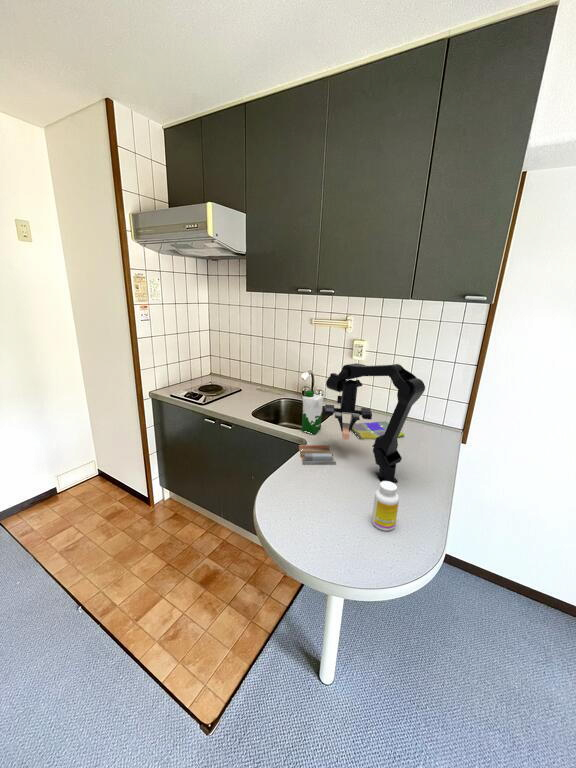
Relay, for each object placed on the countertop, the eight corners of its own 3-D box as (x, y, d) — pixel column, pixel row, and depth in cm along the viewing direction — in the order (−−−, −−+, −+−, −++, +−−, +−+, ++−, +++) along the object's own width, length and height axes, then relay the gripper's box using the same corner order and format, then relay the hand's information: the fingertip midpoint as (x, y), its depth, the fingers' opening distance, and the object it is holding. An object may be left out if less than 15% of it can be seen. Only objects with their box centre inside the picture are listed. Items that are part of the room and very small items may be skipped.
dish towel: (405, 439, 152) (406, 433, 151) (357, 441, 147) (358, 435, 146) (388, 425, 168) (388, 420, 167) (344, 426, 164) (345, 421, 163)
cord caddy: (335, 466, 123) (336, 462, 123) (302, 466, 122) (303, 462, 122) (328, 448, 137) (328, 445, 137) (298, 448, 136) (299, 444, 136)
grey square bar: (330, 459, 127) (331, 453, 127) (332, 462, 125) (332, 456, 124) (304, 458, 126) (304, 453, 126) (304, 462, 124) (305, 456, 123)
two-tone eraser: (348, 439, 123) (349, 433, 123) (342, 439, 124) (343, 433, 123) (347, 428, 134) (348, 423, 133) (341, 428, 134) (342, 422, 133)
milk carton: (306, 426, 161) (308, 388, 155) (323, 430, 156) (325, 392, 151) (298, 432, 153) (300, 392, 148) (315, 436, 149) (318, 396, 144)
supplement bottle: (398, 531, 89) (404, 492, 86) (376, 532, 89) (381, 492, 85) (389, 515, 96) (395, 478, 92) (368, 516, 95) (373, 479, 92)
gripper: (371, 391, 131) (366, 426, 135) (326, 387, 133) (323, 421, 137) (374, 399, 120) (369, 436, 124) (325, 395, 122) (322, 432, 127)
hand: (345, 431), depth 128 cm, fingers closed on two-tone eraser, 2 cm apart
